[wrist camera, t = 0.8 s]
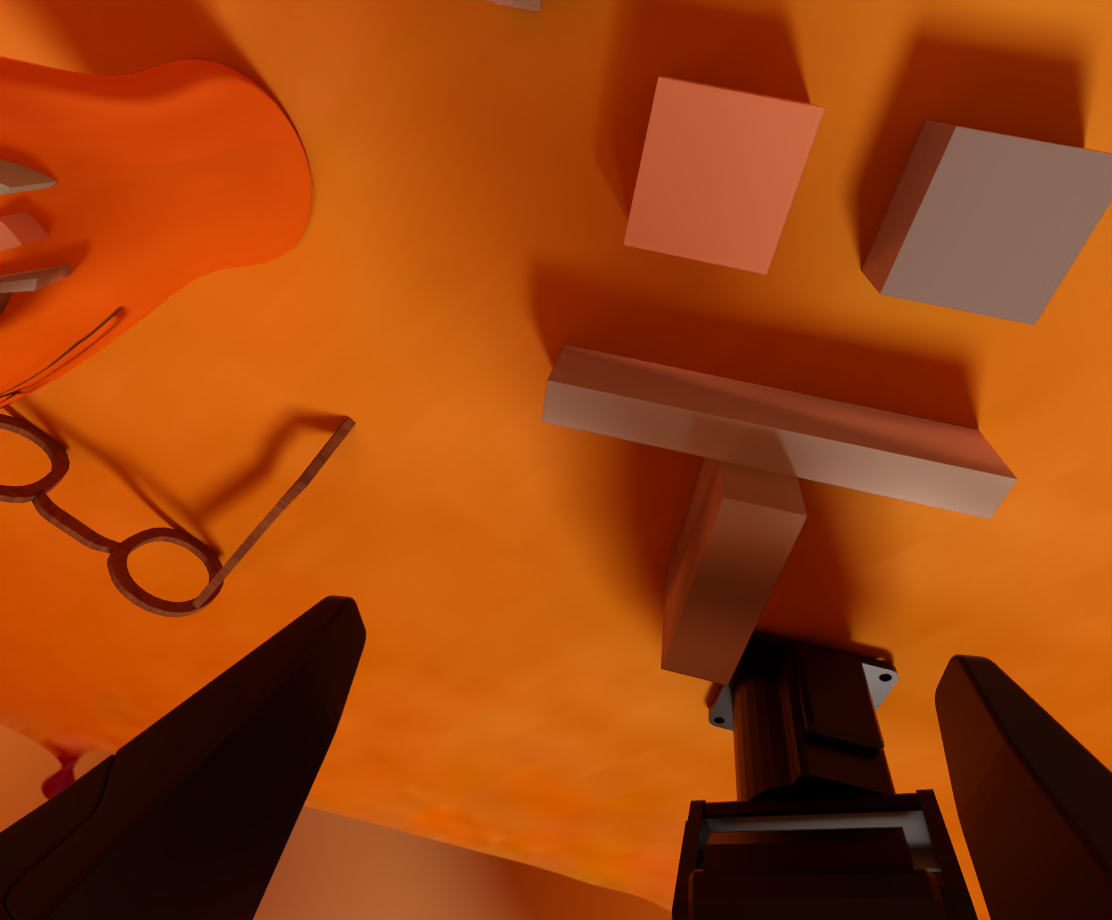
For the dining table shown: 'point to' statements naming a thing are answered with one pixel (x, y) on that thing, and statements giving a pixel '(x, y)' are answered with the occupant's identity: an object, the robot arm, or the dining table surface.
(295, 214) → the beer glass
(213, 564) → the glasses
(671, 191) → the terracotta tile
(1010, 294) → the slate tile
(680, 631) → the scraper
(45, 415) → the dining table surface
